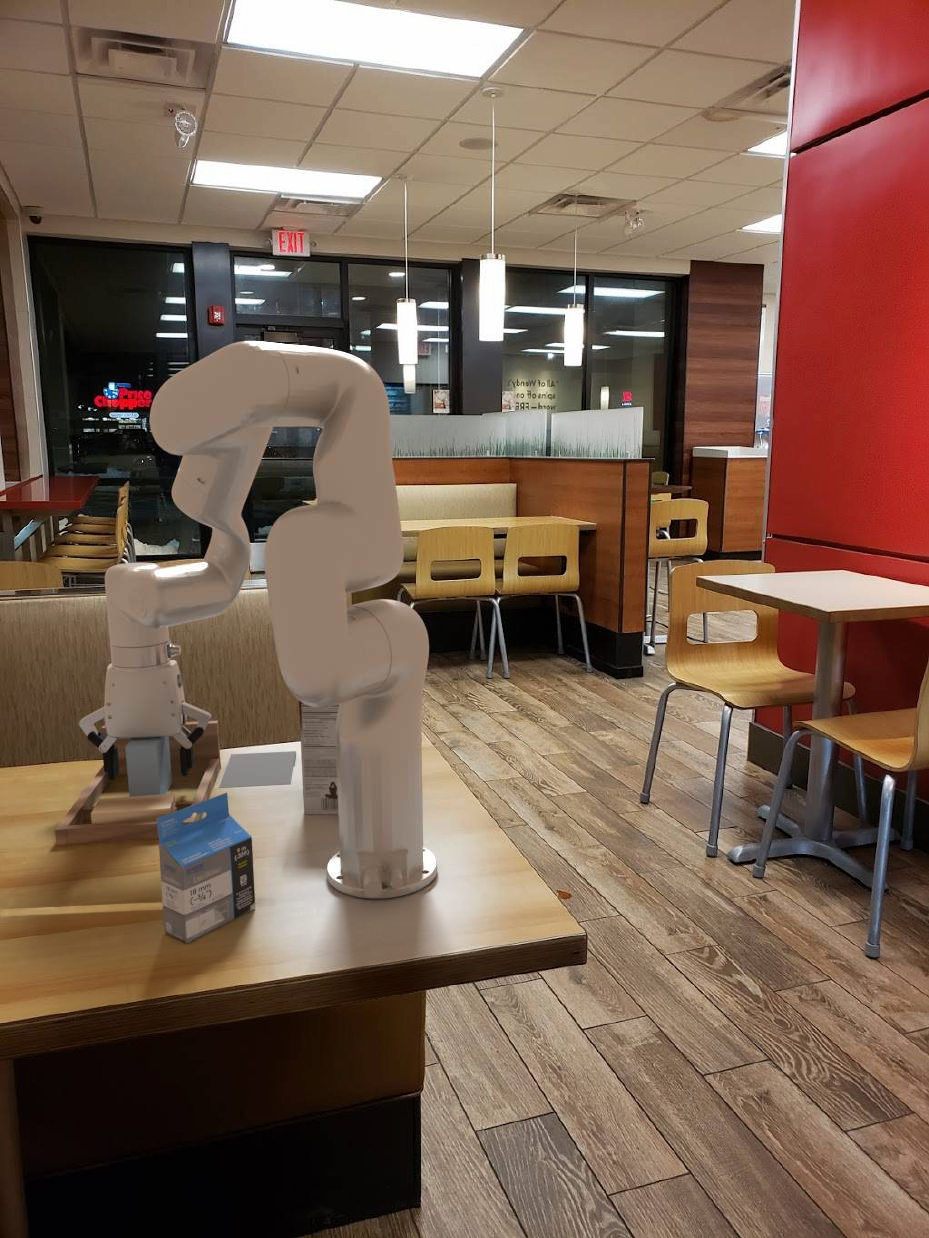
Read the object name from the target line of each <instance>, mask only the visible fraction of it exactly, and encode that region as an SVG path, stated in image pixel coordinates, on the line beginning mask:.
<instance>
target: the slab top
mask: <svg viewBox="0 0 929 1238" xmlns="http://www.w3.org/2000/svg"><path fill="white" fill-rule="evenodd" d="M175 802H176V794H175V793H167V794H163V795H148V796H134V797H129V796H122V797H121V796H120V797H119V796H118V797H107V798H98V800H97V801H96V803H95V804H94V805H95V807H94V809H93V811H92V813H91V819H90V820H91V821H90V822H91V824H104V823H122V822H140V821H155V820H157V818H159V817H162V816H165V815H168V814H170V813H173V811H174V808H175V805H176V803H175Z"/></svg>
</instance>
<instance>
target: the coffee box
mask: <svg viewBox="0 0 929 1238" xmlns="http://www.w3.org/2000/svg"><path fill="white" fill-rule="evenodd" d="M339 705H340V704H338V705H334V706H331V707H324V708H318V707H312V706H308V705H306V704H304V703H302V702H301V701H299V700H298V713H299V715H298V716H299V730H300V731H299V734H300V751H301V753H300V754H301V755H300V756H301V776H302V797H303V799H302V800H303V813H304V814H303V815H338V790H337V762H336V721H337V714H338V709H339Z"/></svg>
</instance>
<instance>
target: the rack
mask: <svg viewBox="0 0 929 1238" xmlns="http://www.w3.org/2000/svg"><path fill="white" fill-rule="evenodd" d="M197 725H198V720H197V721H186V724H185V725H184V726H185V727H186V728H187V729H188V730H189V731H190V732H192V731H193V730H194V729H195V728H196V727H197ZM100 732H101V733H102V734H103V735H104V736H106V737H107V736H108V734H107V732H106V728H105V725H102V726H101V727H100ZM219 733H220V732H219V720H209V722H208V724H207V727H206V729H205V731H204V733H203V735H202V736H201V737H200V738H199V739H198V740H197V741H196V742H195V743H194V744H193V756H194V767H193V768H190V771H189V773H204V774H203V776H202V779H201V781H200V783H199V786H198V787H197V790H196V792H195V794H194V797H193V800H188V801H186V800H185V801H175V803H176V805H175V807H177V811H178V810H181V809H184V808H187V807H189V806H192V805H195V804H197V803H200V802H203V801H206V800H208V799H211V795H212V792H213V790H214V787H215V785H216V782H217V780H218V777H219V775H220V772H221V769H222V764H221V748H220V737H219V736H220V734H219ZM130 740H131V738H129V739H116V741H115V742H114V745H116V747H117V749H118V761H119V773H118V775H117V776H116V777H124V776H125V777H128V773H127V760H126V748H125V747H126V745H127V744H128V743H129V741H130ZM181 747H182V745H181V744H180V743H179V742H178V741H177V740H176V739H175V738H174V737H173V736H169V748H170V762H171V774H181V765H180V748H181ZM111 781H112V780H109V779H108V772H104V764H103V765H102V766H101V768H100V769H99V770H98V772H97V773H96V774H95V776H94V777H93V778H92V780H91V781H90V782H89V784H88V785H87V786H86V788H85V790H84V789H83V792H82V793H81V794H80V796H79V797H78V798H77V800H75V803H74V804H73V805H72V806H71V808H70V809H69V810H68V812H67V813H66V814H65V816H64V817H63V818H62V820H61V821H60V822H59V824H58V825H57V826H56V828H55V829H54V833H55V834H54V835H55V842H56V843H55V844H56V846H57V845H58V846H60V845H70V844H71V845H72V844H85V843H87V844H88V843H104V842H119V841H122V842H123V841H135V840H136V841H137V840H138V841H139V840H153V839H158V840H159V835H158V828H157V821H140V822H122V823H104V824H92V823H89V824H87V823H86V824H82V823H83V822H84V820H85V821H86V820H88V821H89V820H91V813H92V811H93V809H94V807H95V806H94V805H96V803H97V802H98V800H99V799H100V797H101V795H102V794H103V793H104V791H105V790H106V788H107V787H108V786H109V784H110V783H111ZM204 813H205V812H204ZM204 813H201V814H197V813H193V814H192V816H191V818H188V819H186V820H184V821H183V825H187V824H189V823H192V822H195V821H197V820H200V819H202V818H203V817H204Z"/></svg>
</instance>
